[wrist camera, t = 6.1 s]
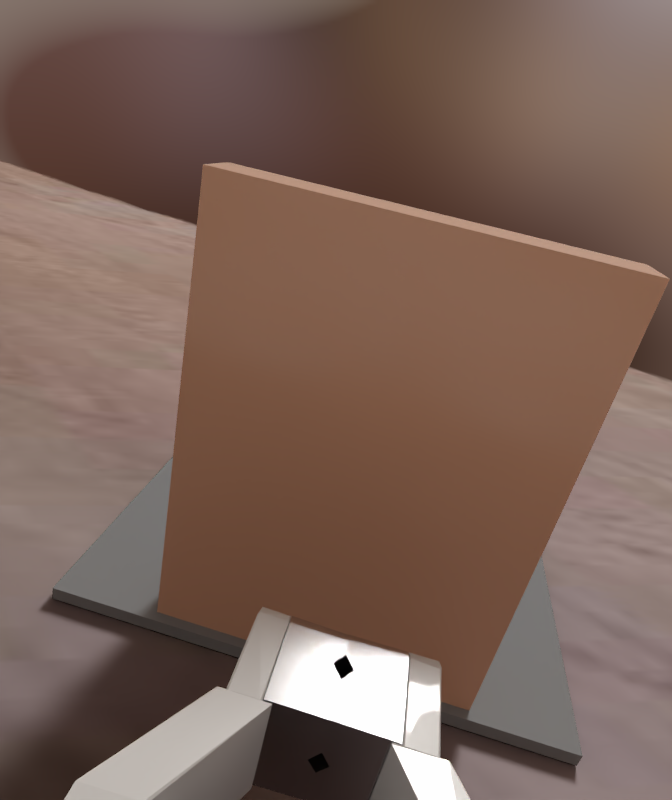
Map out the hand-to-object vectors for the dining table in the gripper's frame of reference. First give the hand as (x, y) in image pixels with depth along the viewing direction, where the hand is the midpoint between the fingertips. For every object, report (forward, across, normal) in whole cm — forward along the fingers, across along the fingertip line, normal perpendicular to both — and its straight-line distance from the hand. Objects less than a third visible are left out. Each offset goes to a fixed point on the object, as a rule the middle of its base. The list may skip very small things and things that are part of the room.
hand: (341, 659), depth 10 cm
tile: (+5, 0, -6) cm, 8 cm away
